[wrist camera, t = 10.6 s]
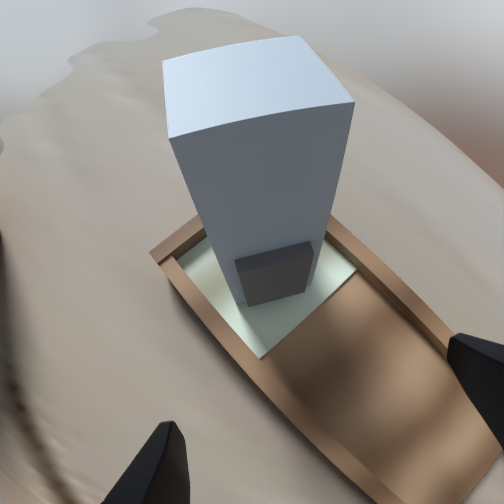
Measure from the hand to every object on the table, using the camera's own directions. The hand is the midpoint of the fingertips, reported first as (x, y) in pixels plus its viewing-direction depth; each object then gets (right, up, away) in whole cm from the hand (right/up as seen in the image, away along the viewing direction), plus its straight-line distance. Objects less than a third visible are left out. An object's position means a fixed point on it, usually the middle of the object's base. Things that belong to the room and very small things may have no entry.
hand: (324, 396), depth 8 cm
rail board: (+4, -3, +10) cm, 11 cm away
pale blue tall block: (-1, +3, +11) cm, 12 cm away
